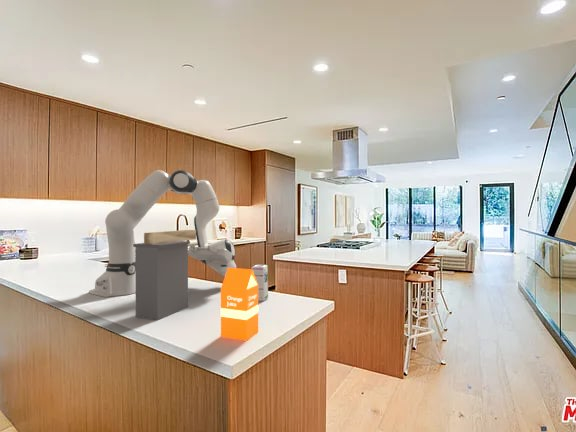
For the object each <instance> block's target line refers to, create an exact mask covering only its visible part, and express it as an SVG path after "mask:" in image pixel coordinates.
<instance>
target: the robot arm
mask: <svg viewBox="0 0 576 432" xmlns="http://www.w3.org/2000/svg"><path fill="white" fill-rule="evenodd" d="M211 184H212V183H210V182H209V181H208V180H207V179H200V180H199V179H198V180H197V178H195V177H194V176H193V175H192V173H189V172H188V171H186V170H181V169H178V170H176V171H174V172H172V174H169V173H167V172H166V171H164V170H161V169H156V170H154V171H153V172H151V174H149V175H148V176H147V177H145V179H143V180H142V181H141V183H139V184H138V186H136V188H134V189H133V191H131V193H130V194H129V195H128V197H127V198H126V200H125V201H124V202H123V204H121V206H120V207H119V208H118V209H114V210H112V211H110V212H109V213H108V214H107V215H106V218H105V222H104V223H105V226H106V228H105V229H106V236H107V243H108V263H105V264H104V268H106V269H105V271H104V272H103V273H102V274H101V275H100V276H99V277H97V278H96V280H95V281H94V288H93V289H90V290H89V291H88V294H92V295H95V296H98V297H99V296H100V297H103V298H106V297H107V298H108V297H115V296H116V297H117V296H118V297H119V296H126V295H132V294H136V269H135V247H133V244H136V243H135V232H134V229H135V228H136V226H137V225H138V224H139V223H140V222H141V221H142V220H143V218H144V217H145V216H146V215H147V214H148V212H149V211H150V210H151V209H152V208H153V206H154V205H155V204H156V203H157V202H158V201H159V200H160V198H162V197H163V195H164V194H166V193H167V192H168V191H172V192H174V193H176V194H179V195H186V194H189V195H190V196H191V197H192V199H193V202H194V204H195V207H196V214H195V216H194V218H193V225H194V230H196V241H197V246H198V247H196V245H194V244H189V246H188V257H191V258H193V259H195V260H197V261H198V260H199V261H200V262H201V263H202V264H204V265H207V266H208V267H210V268H211V269H212V270H214V271H215V272H216V273H218V274H219V275H221V276H223V277H225V275H226V272H227V269H228V268H237V264H236V262H235V257H236V247H235V244H234V243H233V242H232V241H231V240H229V239H227V238H226V239H222V240H219V241H217V242H213V243H209V242H208V238H207V237H208V236H207V232H206V227H207V224H209V223H210V222H211V221H212V220H213V219H214V218H215V217H216V216H217V215H218V214H219V211H220V204H219V201H218V197H217V194H216V191H215V190H214V188H213V186H212V185H211Z"/></svg>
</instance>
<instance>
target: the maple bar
mask: <svg viewBox="0 0 576 432" xmlns="http://www.w3.org/2000/svg"><path fill="white" fill-rule="evenodd" d="M195 240H196V241H197V237H196V230H195V229H181V230H168V231H166V230H165V231H153V232H152V231H151V232H144V233H143V243H144V244H161V243H170V242H178V241H195Z"/></svg>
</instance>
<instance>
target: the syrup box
mask: <svg viewBox="0 0 576 432" xmlns="http://www.w3.org/2000/svg"><path fill="white" fill-rule="evenodd" d="M250 269H252V270H253V273H254V275H255V278H256V281H257V283H258V302H265V301H266V300H268V298H269V277H268V275H269V273H268V271H269V270H268V264H255V265H253V266H251V268H250Z"/></svg>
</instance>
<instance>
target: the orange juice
mask: <svg viewBox="0 0 576 432" xmlns="http://www.w3.org/2000/svg"><path fill="white" fill-rule="evenodd" d="M258 333H259V301H258V283H257V281H256V278H255V275H254V273H253V270H252V269H251V268H250V269H249V268H228V269H227V272H226V275H225V276H224V279H223V281H222V284H221V287H220V337H221V338H222V337H223V338H228V339H233V340H241V341H245V342H247V341H248V340H249V339H250V338H253V336H255V335H256V334H258Z"/></svg>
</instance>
